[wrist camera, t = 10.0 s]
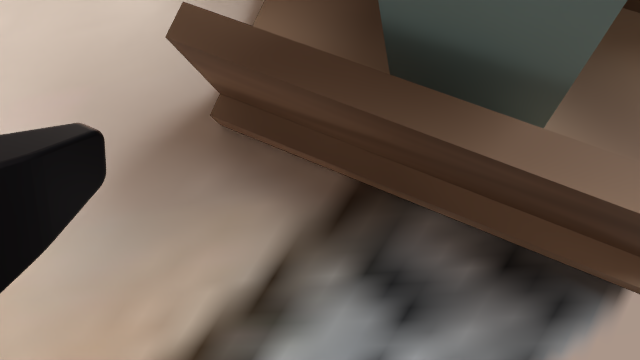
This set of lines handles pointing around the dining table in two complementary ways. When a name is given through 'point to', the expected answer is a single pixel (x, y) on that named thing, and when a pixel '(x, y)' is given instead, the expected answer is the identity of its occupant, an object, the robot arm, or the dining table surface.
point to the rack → (437, 127)
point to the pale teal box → (496, 49)
